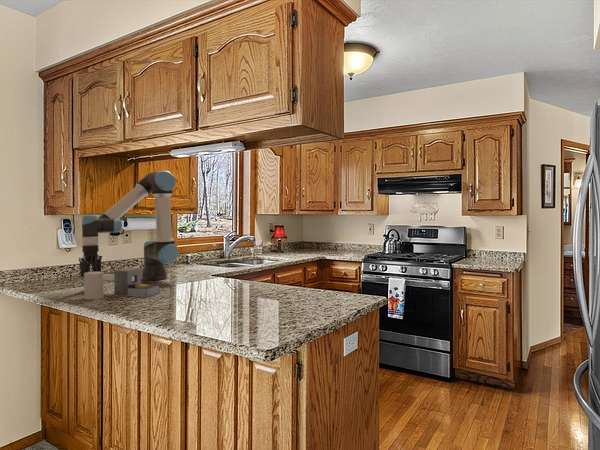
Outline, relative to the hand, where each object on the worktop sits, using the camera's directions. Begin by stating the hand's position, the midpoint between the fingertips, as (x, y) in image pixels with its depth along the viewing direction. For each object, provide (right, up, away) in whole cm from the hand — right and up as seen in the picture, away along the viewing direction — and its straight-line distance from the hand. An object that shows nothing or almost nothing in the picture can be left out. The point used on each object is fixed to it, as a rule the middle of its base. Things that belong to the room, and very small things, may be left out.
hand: (91, 289), depth 222 cm
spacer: (+28, +2, -9) cm, 29 cm away
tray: (+31, -1, -10) cm, 33 cm away
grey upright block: (+10, -1, -18) cm, 21 cm away
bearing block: (+22, -1, -7) cm, 23 cm away
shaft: (+12, 0, -4) cm, 12 cm away
